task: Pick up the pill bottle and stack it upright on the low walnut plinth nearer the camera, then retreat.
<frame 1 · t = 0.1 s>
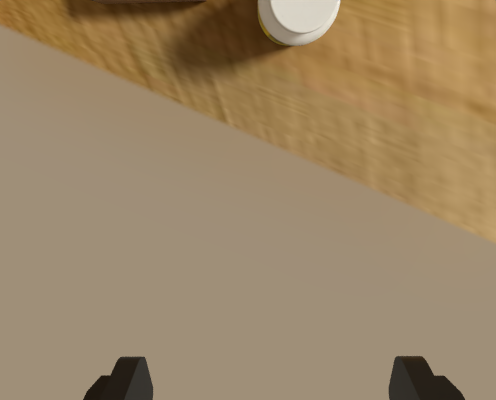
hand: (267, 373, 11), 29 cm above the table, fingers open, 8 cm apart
pill bottle: (289, 11, 32), on the table
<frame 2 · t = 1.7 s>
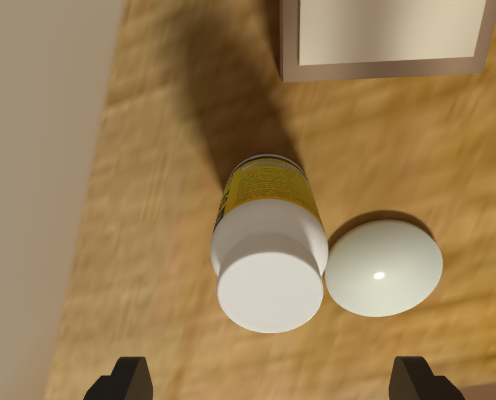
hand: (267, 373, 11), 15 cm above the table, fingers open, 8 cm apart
ceramic egg: (379, 267, 26), on the table
pill bottle: (266, 190, 24), on the table
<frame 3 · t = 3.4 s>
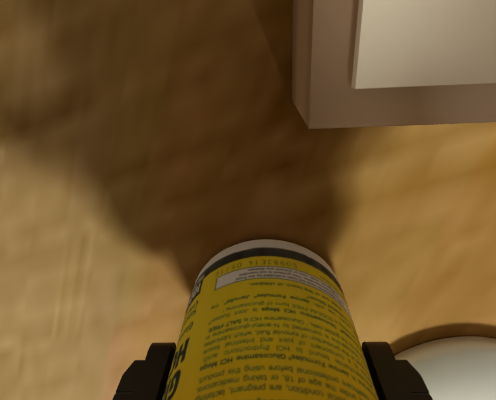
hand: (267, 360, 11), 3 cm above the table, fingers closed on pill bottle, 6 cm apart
pill bottle: (265, 291, 14), on the table, touching gripper
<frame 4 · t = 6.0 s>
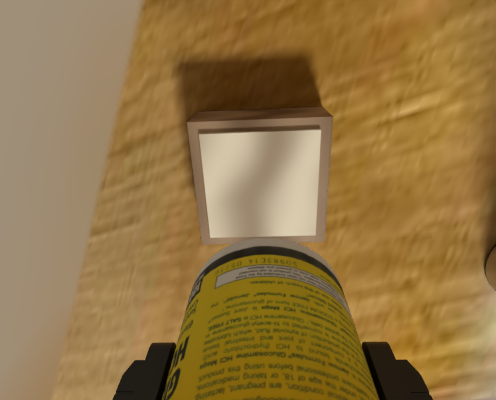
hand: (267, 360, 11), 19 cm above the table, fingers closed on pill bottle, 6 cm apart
pill bottle: (265, 290, 14), point 15 cm above the table, touching gripper
walnut plinth: (260, 168, 28), on the table
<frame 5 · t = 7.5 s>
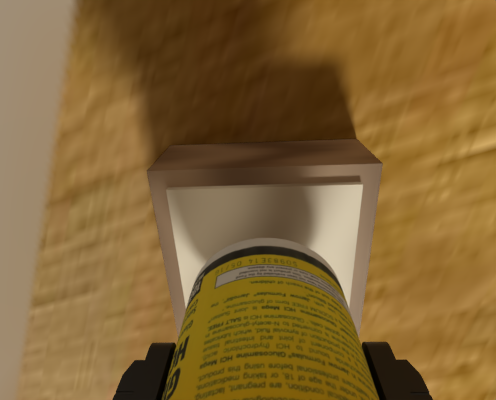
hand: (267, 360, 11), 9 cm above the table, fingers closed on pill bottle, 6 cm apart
pill bottle: (265, 290, 14), point 6 cm above the table, touching gripper
walnut plinth: (264, 223, 20), on the table
when the fingers open (8 cm above the table, at t = 8.8 s): pill bottle stays where it is, resting on walnut plinth.
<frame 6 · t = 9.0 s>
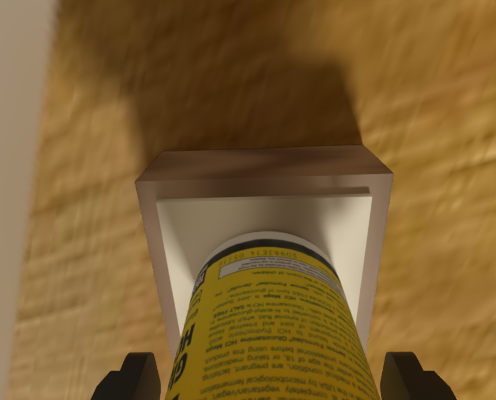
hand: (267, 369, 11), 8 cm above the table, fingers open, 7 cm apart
pill bottle: (266, 282, 15), point 4 cm above the table, touching walnut plinth
walnut plinth: (263, 234, 18), on the table
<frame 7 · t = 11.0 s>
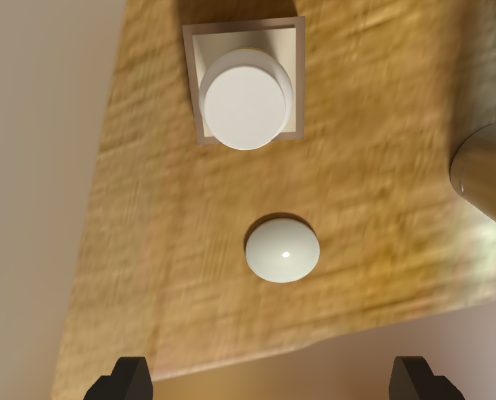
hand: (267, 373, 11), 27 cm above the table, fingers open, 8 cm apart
ceramic egg: (282, 249, 40), on the table
pill bottle: (247, 85, 28), point 4 cm above the table, touching walnut plinth
walnut plinth: (247, 81, 32), on the table
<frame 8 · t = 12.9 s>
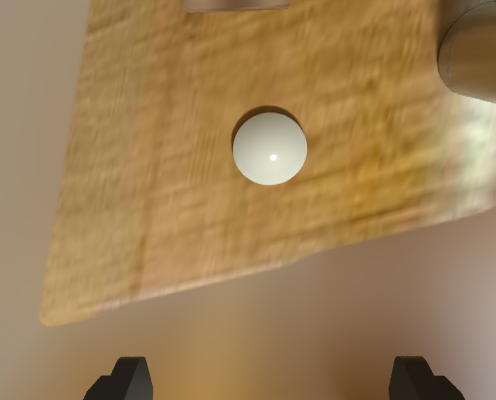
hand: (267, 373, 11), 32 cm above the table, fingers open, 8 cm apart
ceramic egg: (269, 148, 40), on the table
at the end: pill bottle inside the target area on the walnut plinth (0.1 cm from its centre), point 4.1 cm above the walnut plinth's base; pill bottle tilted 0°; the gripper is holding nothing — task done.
